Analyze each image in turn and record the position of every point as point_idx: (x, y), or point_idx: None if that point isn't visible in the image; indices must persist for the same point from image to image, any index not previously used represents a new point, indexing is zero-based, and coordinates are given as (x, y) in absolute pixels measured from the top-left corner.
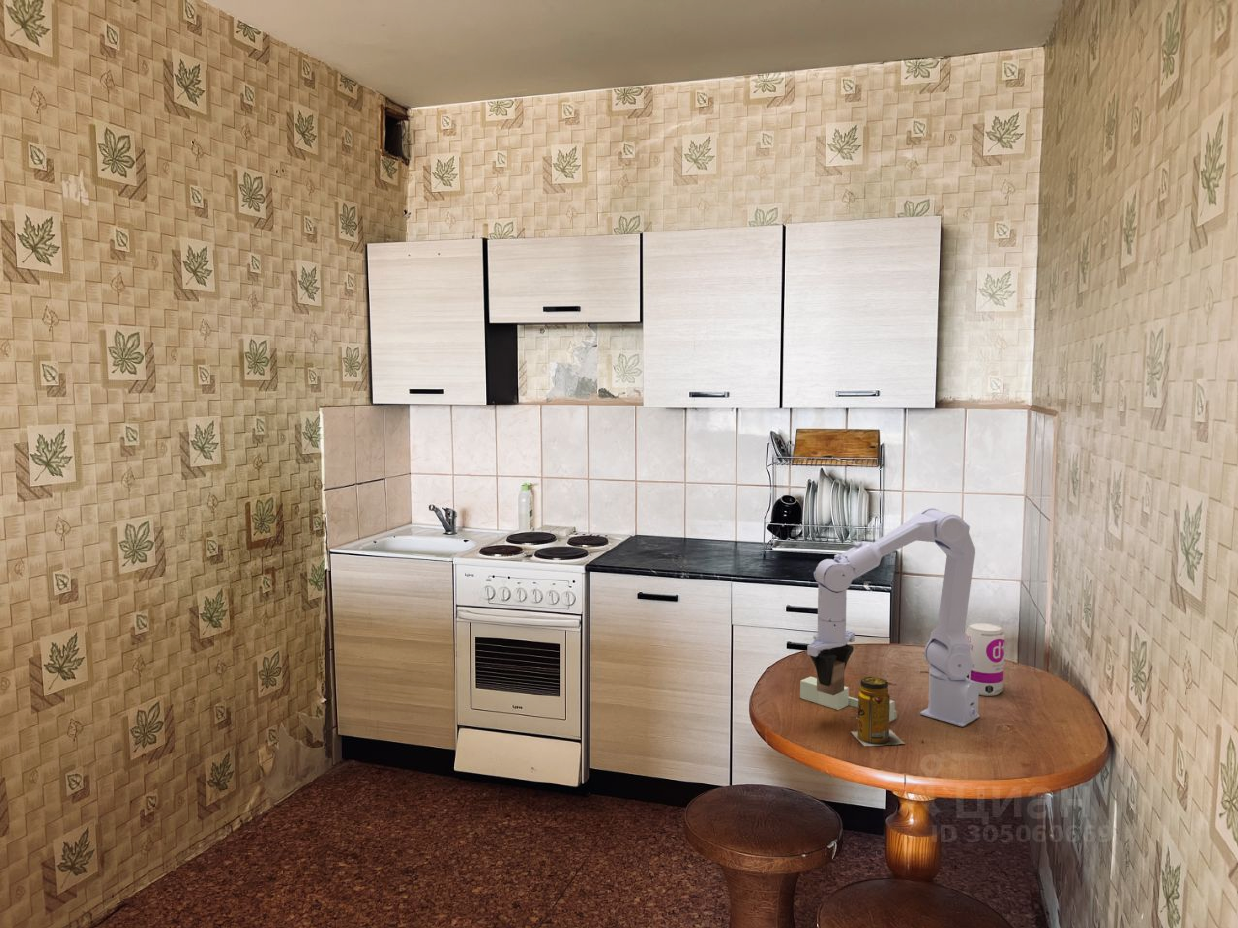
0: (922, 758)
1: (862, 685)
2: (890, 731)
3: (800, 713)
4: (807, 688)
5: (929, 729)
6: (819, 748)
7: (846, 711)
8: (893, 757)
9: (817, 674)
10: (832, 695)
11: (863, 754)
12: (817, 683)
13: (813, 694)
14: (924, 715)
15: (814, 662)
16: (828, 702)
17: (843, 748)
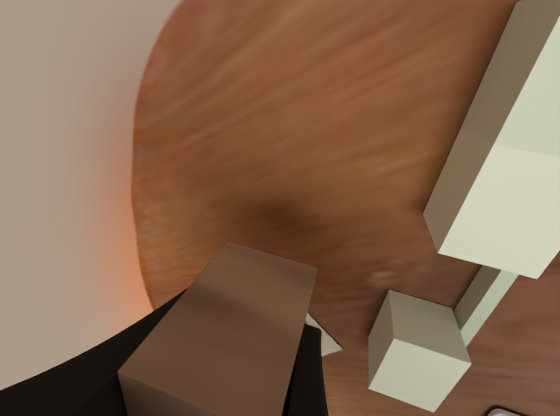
0: None
1: None
2: (330, 349)
3: (314, 107)
4: (521, 53)
5: (395, 410)
6: (149, 239)
7: (423, 239)
8: None
9: (180, 299)
10: (446, 212)
11: None
12: (210, 264)
13: (487, 99)
14: (488, 414)
15: (42, 379)
16: (445, 179)
17: (185, 278)
